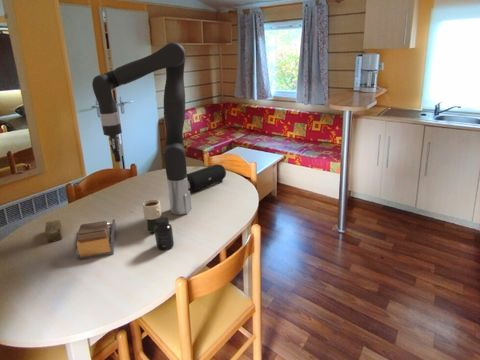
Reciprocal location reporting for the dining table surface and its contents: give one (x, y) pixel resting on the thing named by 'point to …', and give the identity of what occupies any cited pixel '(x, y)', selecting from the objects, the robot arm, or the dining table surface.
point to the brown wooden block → (93, 231)
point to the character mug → (151, 213)
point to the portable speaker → (205, 177)
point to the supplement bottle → (163, 234)
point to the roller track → (97, 245)
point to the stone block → (53, 230)
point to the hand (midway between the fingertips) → (118, 161)
